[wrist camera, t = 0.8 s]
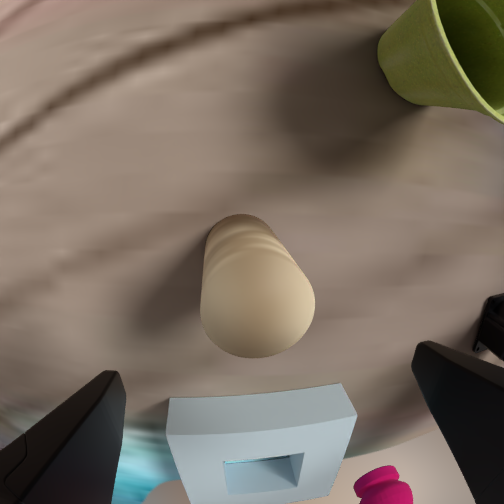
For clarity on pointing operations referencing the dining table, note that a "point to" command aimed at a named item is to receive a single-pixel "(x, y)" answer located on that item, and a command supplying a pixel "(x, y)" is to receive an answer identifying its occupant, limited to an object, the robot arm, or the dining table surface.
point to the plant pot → (448, 55)
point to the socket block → (260, 444)
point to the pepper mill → (383, 487)
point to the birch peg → (252, 290)
